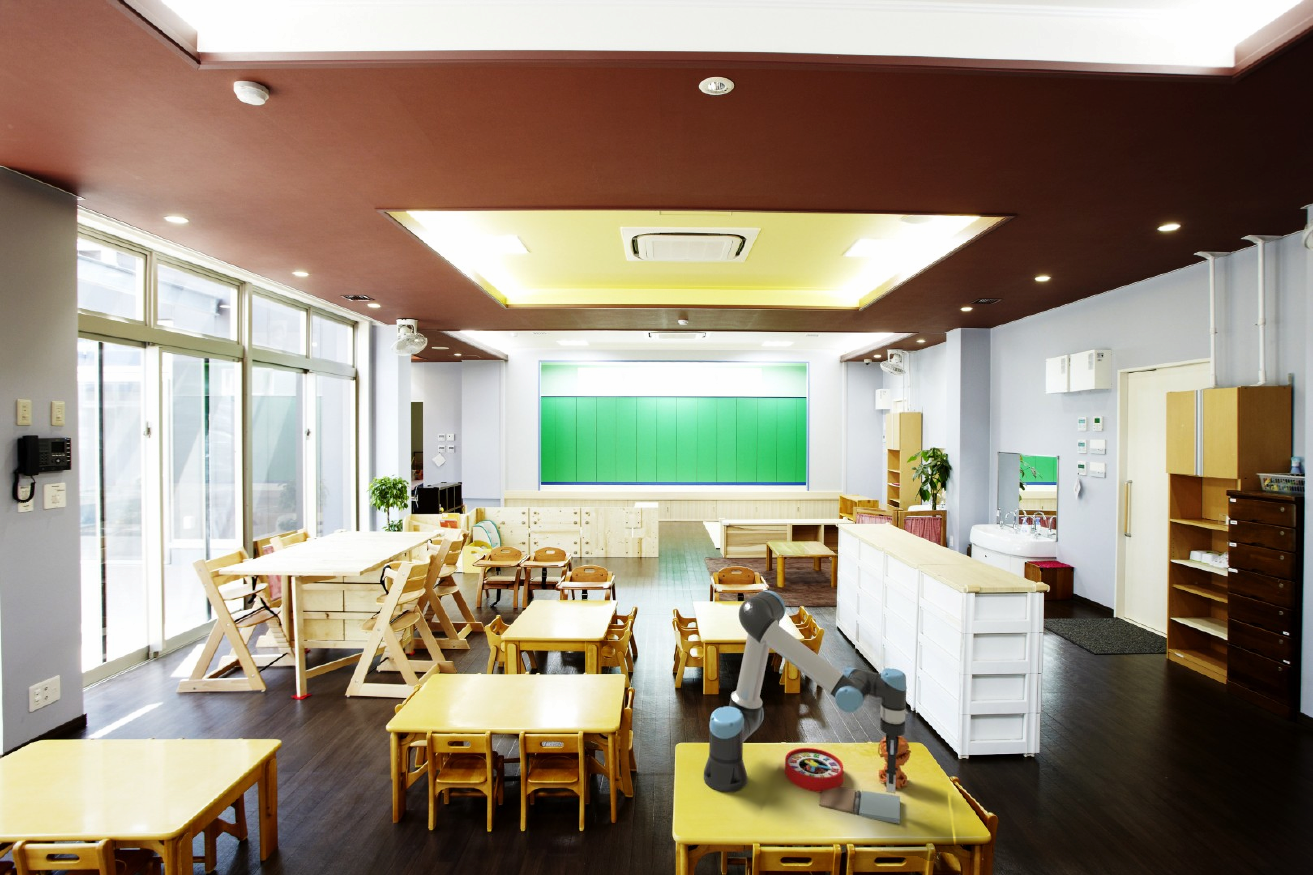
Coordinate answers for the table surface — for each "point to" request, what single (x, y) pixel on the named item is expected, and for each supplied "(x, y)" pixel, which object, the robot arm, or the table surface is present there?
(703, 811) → the table surface
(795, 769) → the toy clock
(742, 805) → the table surface
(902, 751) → the orange figurine
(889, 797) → the hinge leaf
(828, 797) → the hinge base
